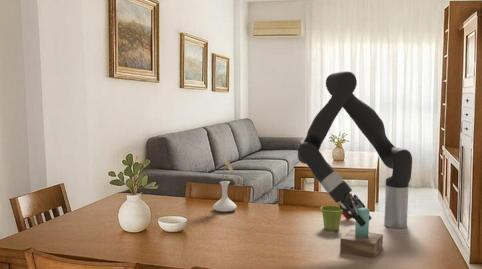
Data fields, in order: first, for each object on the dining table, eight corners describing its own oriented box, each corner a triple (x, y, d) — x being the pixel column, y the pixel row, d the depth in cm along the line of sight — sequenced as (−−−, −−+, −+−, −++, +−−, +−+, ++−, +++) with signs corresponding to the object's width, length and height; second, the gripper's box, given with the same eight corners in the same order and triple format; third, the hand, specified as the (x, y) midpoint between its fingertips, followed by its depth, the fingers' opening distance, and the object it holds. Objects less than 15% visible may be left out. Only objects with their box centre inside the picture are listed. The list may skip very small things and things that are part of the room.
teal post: (357, 233, 171) (358, 206, 169) (369, 235, 168) (371, 208, 167) (353, 236, 167) (354, 209, 166) (366, 239, 164) (367, 211, 163)
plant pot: (343, 232, 188) (343, 211, 187) (319, 231, 190) (320, 210, 189) (343, 226, 197) (343, 206, 196) (320, 224, 199) (320, 204, 198)
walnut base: (350, 242, 176) (350, 229, 176) (382, 247, 170) (382, 234, 170) (340, 251, 166) (340, 238, 165) (373, 258, 160) (374, 244, 159)
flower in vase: (236, 213, 216) (236, 160, 213) (211, 213, 216) (211, 160, 213) (237, 206, 229) (237, 156, 226) (213, 206, 229) (213, 156, 226)
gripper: (336, 183, 163) (369, 221, 158) (349, 177, 175) (379, 211, 171) (322, 196, 166) (353, 234, 162) (335, 189, 179) (364, 223, 174)
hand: (366, 222), depth 166 cm, fingers open, 6 cm apart
